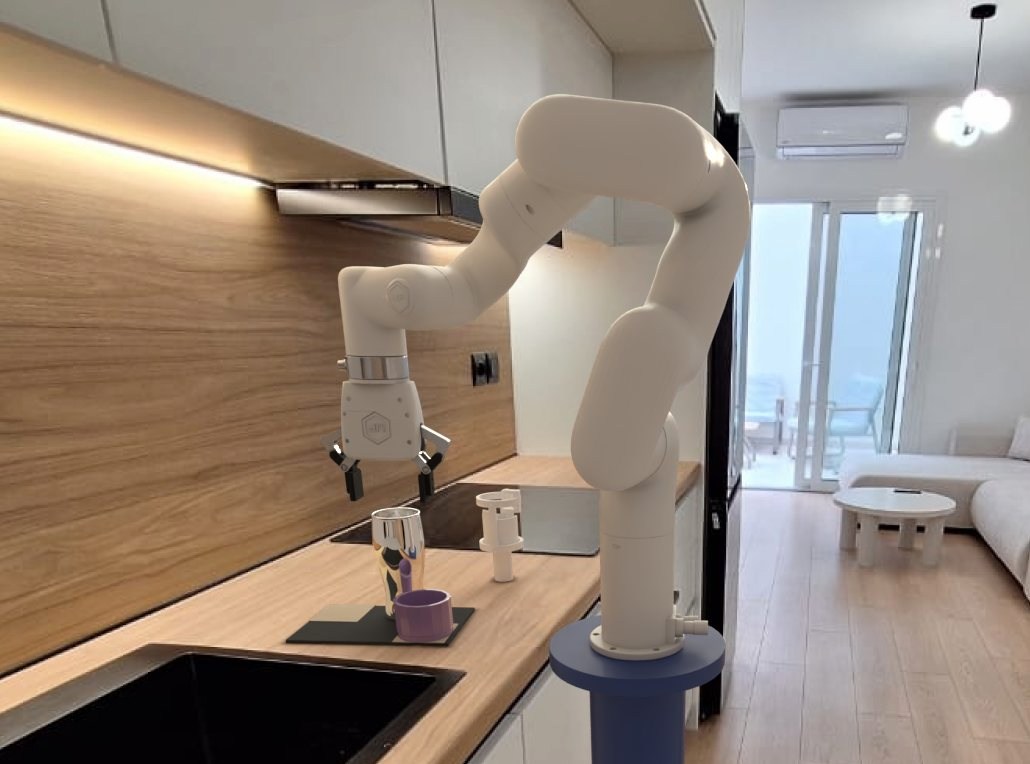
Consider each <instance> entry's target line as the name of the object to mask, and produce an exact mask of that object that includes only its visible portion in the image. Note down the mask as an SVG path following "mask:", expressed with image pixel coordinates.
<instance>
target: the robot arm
mask: <svg viewBox="0 0 1030 764" xmlns="http://www.w3.org/2000/svg"><path fill="white" fill-rule="evenodd" d="M514 138H515V140H514V145H515V146H514V147H515V154H516V157H517V158H516V159H515V160H514V161H513V162H512V163H511V164H510V165H508V166H507V168H505V169H504V170H503V171H502V172H500V174H498V175H497V176H496V177H495V178H494V179H493V180H492V181H490V183H489V184H487V186H485V187H484V188H483V190H481V192H480V194H479V198H478V208H479V212H480V215H481V218H482V224H481V227H480V230H479V231H478V233H477V235H476V236H475V238H474V239H473V240H472V242H471V243H470V244H468V246H467V247H465V249H463V251H462V252H460V253H459V254H458V255H457V256H455V258H454V259H451V261H450V262H449V263H447V264H446V265H445V266H441V265H431V264H415V263H405V264H397V265H392V266H386V267H383V266H363V265H362V266H359V265H357V266H355V265H354V266H353V265H352V266H346V267H344V268H342V269H341V270H340V271H339V273H338V275H337V285H338V295H339V301H340V302H339V303H340V311H341V320H342V329H343V339H344V346H345V348H344V349H345V355H344V359H340V360H339V359H338V360H337V362H336V368H337V370H338V371H339V372H345V373H346V377H347V378H348V380H345V381H342V385H341V397H340V398H341V399H340V401H341V402H340V427H338V428H336V429H334V430H333V431H331V432H329V433H327V434H325V435H323V436H322V437H321V438H320V443H321V444H322V446H323V447H324V448H325V450H326V452H327V453H328V455H329V458H330V460H332V461H333V462H334V463H335V464H336V465H337V466H338V467H339V469H340V471H341V472H343V473H344V479H345V480H344V481H345V489H346V493H347V495H349V500H350V502H357V501H358V500H359V501H360V499H362V498H363V497H365V493H364V492H365V491H364V482H363V474H362V470H361V468H360V467H358V465H359V463H361V461H394V462H395V461H397V462H404V461H405V462H406V461H411V462H412V463H413V464H414V465H415V466H416V467H417V468H418V469H419V470H420V473H418V475H417V483H418V493H419V502H420V503H421V504H427V503H429V502H430V501H432V499H433V497H434V496H435V493H436V490H435V476H434V471H435V470H436V469H437V467H438V466H439V465H440V464H441V463H442V462H443V461H444V460H445V458H446V454H447V453H448V450H449V449H450V446H451V443H452V441H451V439H450V438H448V437H446V436H444V435H443V434H440V433H439V432H437V431H435V430H433V429H432V428H430V427H427V426H426V425H425V421H424V415H423V410H422V404H421V401H420V397H419V392H418V389H417V386H416V383H415V381H414V380H410V370H409V359H408V349H407V348H408V347H407V337H406V335H407V334H406V330H407V331H414V332H415V331H416V332H421V331H422V332H423V331H436V330H437V331H438V330H440V331H441V330H455V329H460V328H463V327H466V326H467V325H469V324H471V323H472V322H474V321H475V320H477V319H478V318H479V317H480V316H481V315H483V314H484V313H485V312H486V311H487V310H489V309H490V308H491V307H492V306H494V305H495V304H496V303H498V301H499V300H500V299H502V298H503V297H504V296H505V295H506V294H508V292H510V289H512V288H513V286H514V285H515V284H516V282H517V281H518V279H519V277H520V276H521V274H522V273H523V272H524V270H526V269H525V268H526V267H527V266H528V262H529V260H530V259H531V258H532V257H533V255H535V254H536V253H537V252H538V251H539V250H540V249H541V248H543V246H545V245H546V244H547V243H548V242H549V241H551V240H552V239H553V238H554V237H555V236H556V235H558V234H559V233H560V232H561V231H562V230H564V228H566V227H567V226H568V225H569V224H570V223H571V222H572V221H574V220H575V219H576V218H578V217H579V216H580V215H581V214H582V213H583V212H585V211H586V210H587V209H588V208H589V207H591V206H592V205H593V204H594V203H596V201H598V199H600V198H602V197H604V198H610V199H611V198H612V199H620V200H626V201H633V202H637V203H643V204H647V205H648V204H649V205H652V206H655V207H658V208H660V209H662V210H665V211H668V212H669V213H670V214H671V215H672V216H673V219H674V221H673V222H674V223H673V224H674V225H673V230H672V233H671V235H670V238H669V240H668V242H667V243H666V246H665V248H664V250H663V251H662V254H661V257H660V259H659V261H658V264H657V267H656V271H655V274H654V278H653V280H652V284H651V286H650V288H649V291H648V294H647V297H646V298H645V301H644V304H643V305H642V306H637V307H634V308H632V309H630V310H628V311H626V312H624V313H623V314H621V315H619V317H617V319H615V321H613V323H612V324H611V325H610V327H609V329H608V330H607V331H606V333H605V335H604V337H603V338H602V341H601V342H600V344H599V348H598V350H597V353H596V356H595V359H594V362H593V365H592V368H591V372H590V375H589V378H588V381H587V384H586V387H585V390H584V393H583V396H582V399H581V402H580V406H579V408H578V411H577V414H576V418H575V421H574V424H573V428H572V433H571V437H570V438H571V439H570V454H571V455H570V456H571V460H572V463H573V466H574V469H575V470H576V472H577V473H578V475H579V477H581V479H582V480H583V481H584V482H585V483H586V484H587V485H589V486H590V487H592V488H594V489H596V490H598V491H599V501H598V502H599V503H598V532H599V534H598V537H599V541H598V542H599V577H600V578H599V579H600V581H599V582H600V584H599V585H600V615H601V626H599V627H597V628H596V629H594V630H593V631H592V632H591V634H590V645H591V647H592V648H593V649H594V650H595V651H596V652H598V653H599V654H601V655H604V656H607V657H610V658H614V659H620V660H629V661H645V660H654V659H660V658H664V657H667V656H670V655H672V654H675V653H676V652H678V651H679V650H681V649H682V647H683V646H684V644H685V635H684V634H694V635H708V625H709V621H708V620H699V615H682V613H677V604H675V603H674V601H675V599H674V598H675V597H674V595H675V592H674V591H675V528H676V494H677V493H676V492H677V481H678V473H679V465H680V455H681V437H680V432H679V427H678V424H677V421H676V420H675V417H674V416H673V414H672V413H671V408H672V406H673V403H674V400H675V399H676V396H677V393H678V392H681V391H684V390H685V389H686V388H688V387H689V386H691V385H692V384H693V383H695V382H696V380H697V379H698V378H699V376H700V374H701V373H702V371H703V369H704V365H705V363H706V360H707V357H708V354H709V351H710V348H711V345H712V342H713V339H714V337H715V334H716V331H717V328H718V326H719V324H720V320H721V318H722V317H723V316H722V315H723V314H724V310H725V308H726V304H727V301H728V298H729V295H730V293H731V289H732V287H733V285H734V281H735V279H736V277H737V276H736V275H737V273H738V271H739V267H740V265H741V263H742V259H743V256H744V254H745V250H746V247H747V243H748V239H749V234H750V228H751V216H752V215H751V202H750V201H751V200H750V196H749V190H748V186H747V184H746V180H745V178H744V176H743V175H742V172H741V171H740V169H739V167H738V165H737V164H736V161H734V159H733V158H732V156H731V155H730V154H729V152H728V151H727V150H726V149H725V147H724V146H723V145H722V144H721V143H720V142H719V140H718V139H716V138H715V136H713V135H712V134H711V133H710V132H709V131H708V130H707V129H705V128H704V127H703V126H702V125H700V124H699V123H697V122H696V121H695V120H694V119H693V118H691V117H690V116H689V115H687V114H686V113H685V112H683V111H680V110H679V109H676V108H674V107H672V106H667V105H664V104H659V103H658V104H657V103H650V102H641V101H630V100H619V99H609V98H600V97H592V96H583V95H575V94H567V93H566V94H565V93H558V94H557V93H556V94H550V95H549V94H548V95H546V96H543V97H541V98H539V99H538V100H536V101H535V102H533V103H532V104H531V105H530V106H529V107H528V108H527V109H526V110H525V112H524V113H523V114H522V116H521V118H520V120H519V122H518V124H517V128H516V132H515V137H514ZM339 440H341V444H342V449H340V448H339V445H338V441H339ZM427 441H428V442H430V443H432V444H434V445H435V446H436V448H435V451H434V453H433V454H432V456H431V457H430V456H429V455H428V454H427V453H426V452H427Z"/></svg>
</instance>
